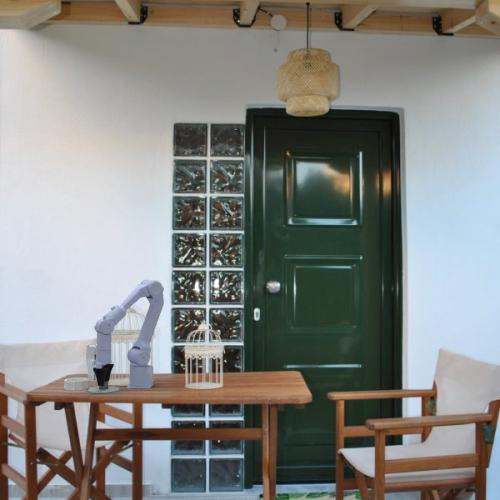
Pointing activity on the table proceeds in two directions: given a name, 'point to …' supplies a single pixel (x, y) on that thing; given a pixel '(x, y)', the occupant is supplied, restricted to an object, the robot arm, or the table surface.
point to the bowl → (75, 384)
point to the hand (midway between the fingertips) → (103, 384)
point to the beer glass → (91, 361)
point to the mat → (103, 393)
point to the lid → (103, 388)
